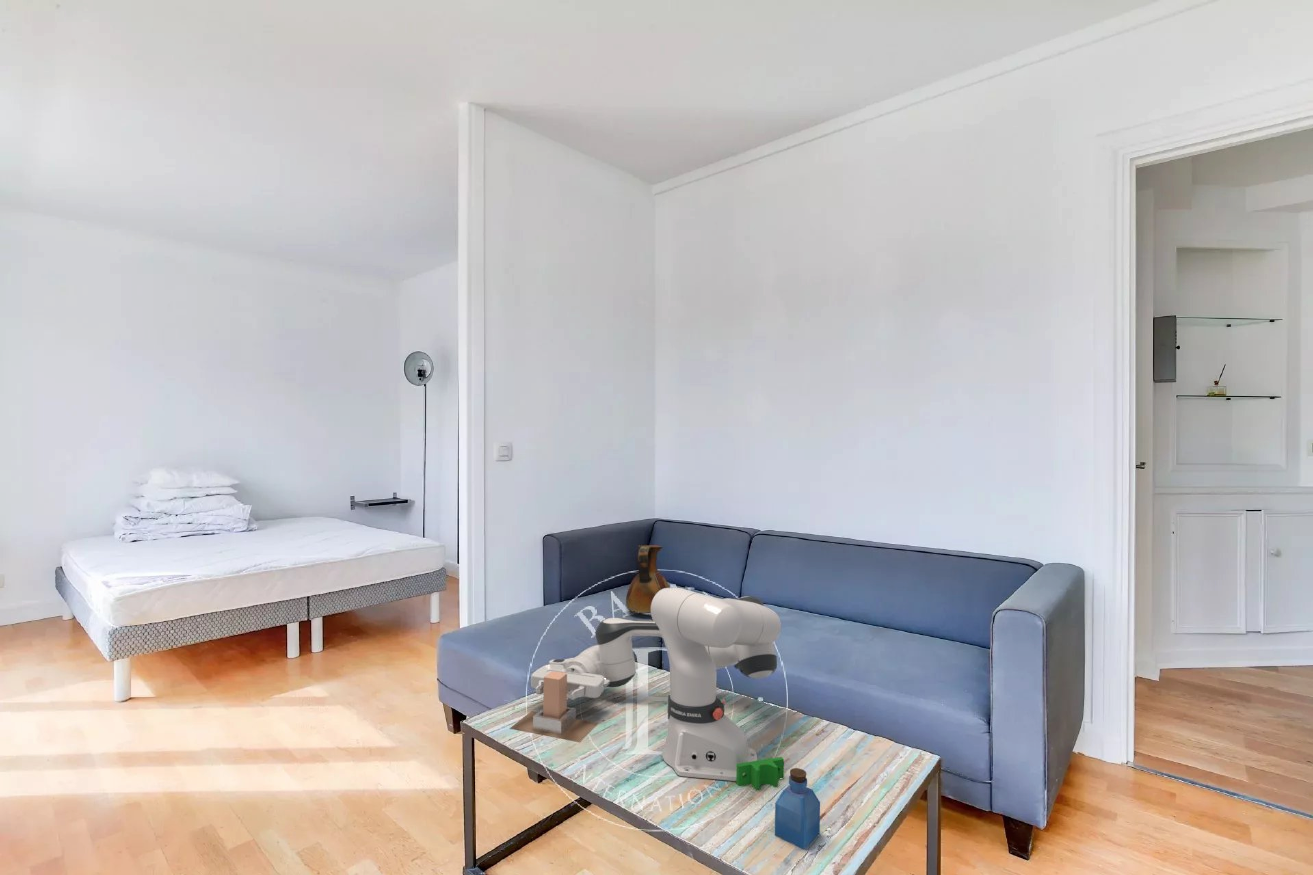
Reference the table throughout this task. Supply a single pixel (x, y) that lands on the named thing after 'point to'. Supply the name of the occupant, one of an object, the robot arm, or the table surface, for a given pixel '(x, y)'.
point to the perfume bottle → (797, 811)
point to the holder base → (572, 733)
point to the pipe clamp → (760, 772)
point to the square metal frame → (554, 722)
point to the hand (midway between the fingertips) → (554, 693)
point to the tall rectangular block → (555, 695)
